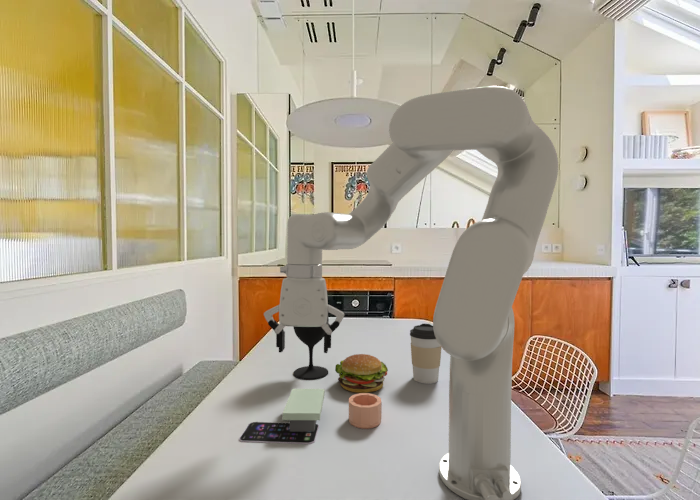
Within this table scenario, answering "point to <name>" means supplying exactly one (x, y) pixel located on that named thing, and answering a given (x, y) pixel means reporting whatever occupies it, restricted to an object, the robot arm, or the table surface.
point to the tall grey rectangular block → (302, 425)
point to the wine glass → (310, 352)
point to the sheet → (304, 404)
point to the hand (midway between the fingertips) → (303, 350)
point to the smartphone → (276, 433)
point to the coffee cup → (425, 354)
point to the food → (361, 373)
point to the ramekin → (365, 410)
